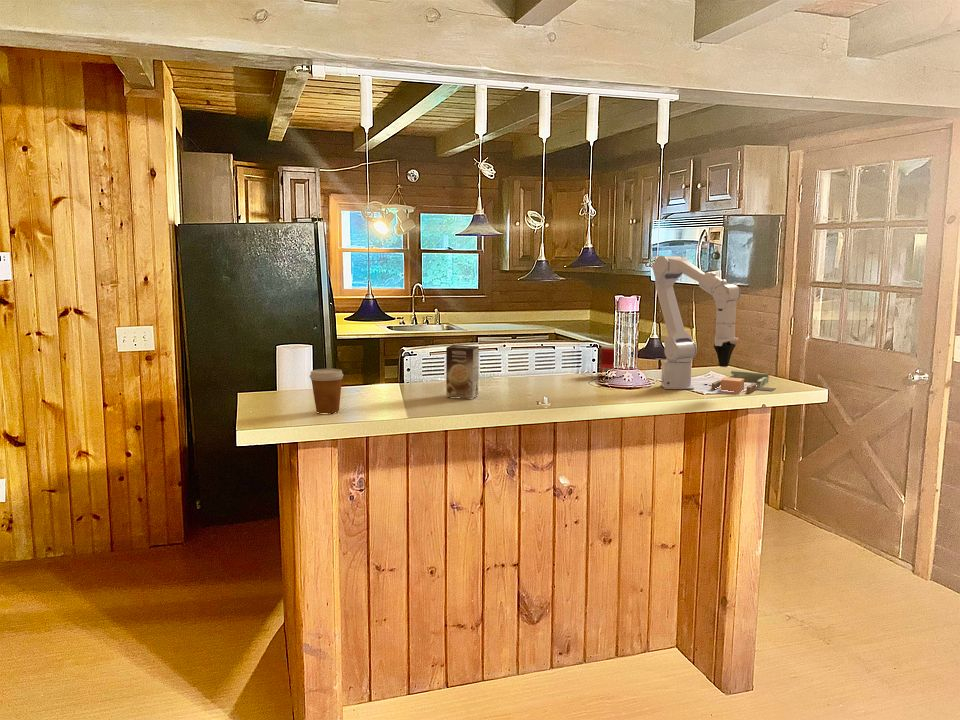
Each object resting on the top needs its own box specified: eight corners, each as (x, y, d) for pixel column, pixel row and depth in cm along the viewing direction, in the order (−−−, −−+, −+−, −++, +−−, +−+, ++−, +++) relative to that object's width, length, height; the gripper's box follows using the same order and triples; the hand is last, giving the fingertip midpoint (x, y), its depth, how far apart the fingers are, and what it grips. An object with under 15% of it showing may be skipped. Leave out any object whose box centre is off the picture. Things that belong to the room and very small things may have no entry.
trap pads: (772, 391, 247) (772, 390, 247) (703, 384, 260) (703, 384, 260) (775, 388, 252) (775, 388, 252) (707, 382, 264) (707, 382, 264)
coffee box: (445, 398, 239) (444, 347, 236) (452, 394, 245) (451, 344, 242) (473, 399, 236) (472, 348, 234) (479, 396, 242) (479, 345, 240)
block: (739, 393, 245) (740, 381, 244) (720, 391, 248) (721, 379, 247) (743, 390, 250) (744, 378, 249) (725, 388, 253) (725, 377, 253)
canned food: (624, 378, 274) (625, 347, 272) (602, 378, 274) (602, 347, 273) (621, 374, 282) (621, 344, 280) (599, 374, 282) (599, 344, 280)
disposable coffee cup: (346, 408, 224) (345, 368, 222) (342, 415, 214) (340, 373, 213) (313, 409, 224) (312, 368, 222) (308, 416, 214) (306, 373, 212)
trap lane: (750, 393, 244) (750, 384, 244) (711, 389, 251) (711, 380, 250) (768, 382, 264) (768, 373, 263) (731, 379, 271) (732, 370, 270)
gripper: (732, 325, 228) (730, 370, 230) (745, 321, 240) (743, 364, 242) (708, 324, 232) (706, 368, 234) (722, 320, 244) (720, 362, 246)
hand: (723, 366), depth 239 cm, fingers closed
